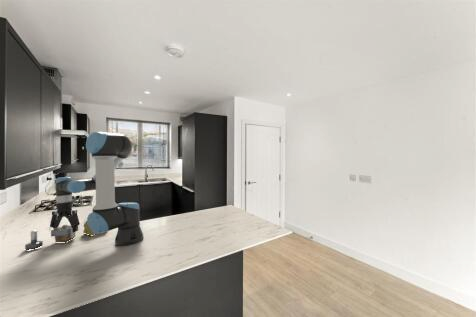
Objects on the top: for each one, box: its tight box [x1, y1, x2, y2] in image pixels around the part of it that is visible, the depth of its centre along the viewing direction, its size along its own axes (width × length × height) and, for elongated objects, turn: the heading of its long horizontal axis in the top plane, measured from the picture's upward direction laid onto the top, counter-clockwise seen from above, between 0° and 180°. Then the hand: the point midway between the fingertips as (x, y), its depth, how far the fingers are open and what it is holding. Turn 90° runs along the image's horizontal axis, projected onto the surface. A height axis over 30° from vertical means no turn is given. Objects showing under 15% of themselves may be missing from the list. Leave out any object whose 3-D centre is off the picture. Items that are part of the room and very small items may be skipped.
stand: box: [54, 224, 74, 243], centre depth 121 cm, size 6×6×10 cm
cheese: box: [83, 220, 96, 235], centre depth 135 cm, size 10×11×10 cm
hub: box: [24, 230, 44, 250], centre depth 112 cm, size 7×7×10 cm
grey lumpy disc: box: [50, 224, 79, 237], centre depth 121 cm, size 9×9×4 cm
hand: (65, 237), depth 121 cm, fingers closed on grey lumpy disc, 9 cm apart
